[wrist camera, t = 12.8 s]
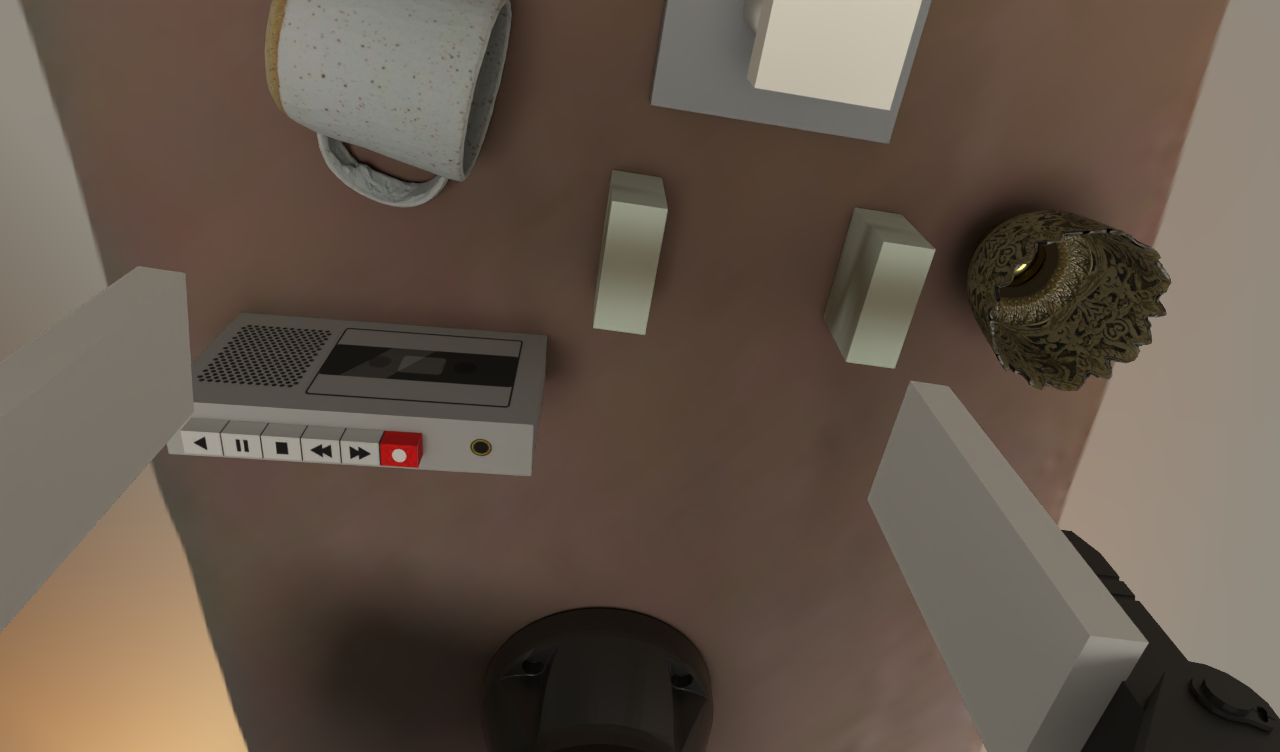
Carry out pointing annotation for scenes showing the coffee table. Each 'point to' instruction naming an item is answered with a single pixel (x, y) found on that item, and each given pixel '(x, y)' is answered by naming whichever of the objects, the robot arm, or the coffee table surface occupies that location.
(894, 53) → the shelf board
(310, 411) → the cassette player
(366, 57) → the ceramic mug
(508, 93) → the coffee table surface
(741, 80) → the peg stand
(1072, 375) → the cup
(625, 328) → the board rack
